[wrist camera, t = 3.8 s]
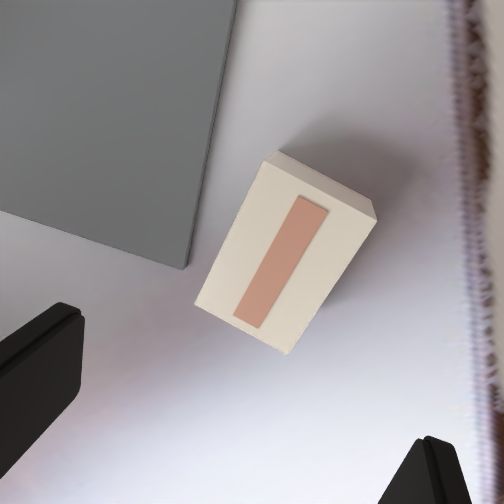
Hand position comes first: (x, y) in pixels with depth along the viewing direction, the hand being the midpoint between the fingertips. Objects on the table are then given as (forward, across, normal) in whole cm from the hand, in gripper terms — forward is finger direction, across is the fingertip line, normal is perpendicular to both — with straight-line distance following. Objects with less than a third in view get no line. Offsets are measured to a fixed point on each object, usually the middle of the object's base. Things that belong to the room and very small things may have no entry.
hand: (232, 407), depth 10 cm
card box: (+14, 0, 0) cm, 15 cm away
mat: (+14, +14, -6) cm, 21 cm away
